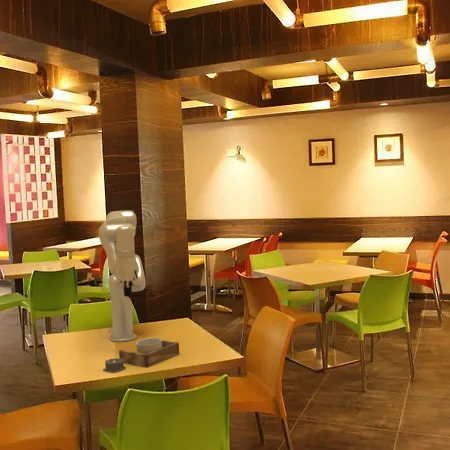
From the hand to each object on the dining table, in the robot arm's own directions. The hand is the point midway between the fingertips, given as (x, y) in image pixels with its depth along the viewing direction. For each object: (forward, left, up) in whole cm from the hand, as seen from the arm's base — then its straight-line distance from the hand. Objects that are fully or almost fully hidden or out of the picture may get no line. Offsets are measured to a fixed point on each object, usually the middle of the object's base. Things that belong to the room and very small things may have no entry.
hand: (128, 295), depth 257 cm
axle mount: (+12, -22, -25) cm, 35 cm away
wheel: (+12, -22, -24) cm, 35 cm away
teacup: (+15, -4, -25) cm, 29 cm away
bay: (+14, -4, -25) cm, 29 cm away
